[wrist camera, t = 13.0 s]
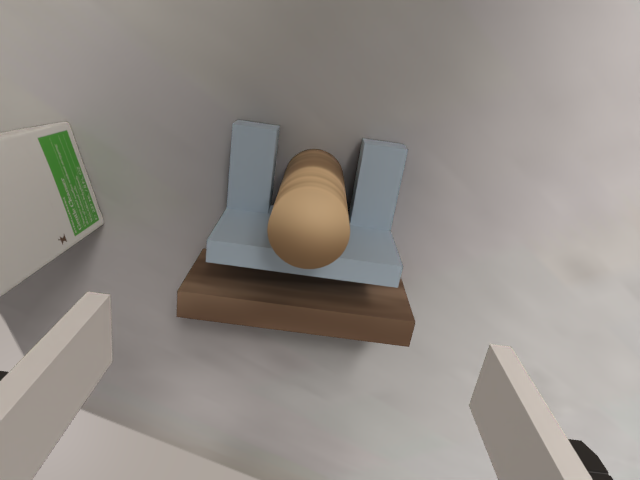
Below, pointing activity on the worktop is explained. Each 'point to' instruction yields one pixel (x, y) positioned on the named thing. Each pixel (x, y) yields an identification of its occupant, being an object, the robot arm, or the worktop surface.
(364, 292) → the board
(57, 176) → the skincare box
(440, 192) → the worktop surface
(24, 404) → the robot arm
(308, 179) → the dowel
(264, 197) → the fork block
